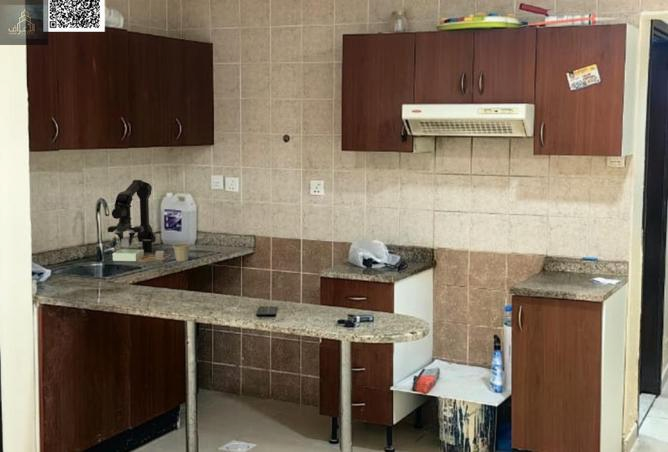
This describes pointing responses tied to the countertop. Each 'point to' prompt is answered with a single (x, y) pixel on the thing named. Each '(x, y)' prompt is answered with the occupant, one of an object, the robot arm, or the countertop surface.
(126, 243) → the pebble
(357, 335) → the countertop surface
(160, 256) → the pebble
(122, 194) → the robot arm
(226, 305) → the countertop surface
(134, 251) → the bin
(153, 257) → the tray
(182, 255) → the flower pot
